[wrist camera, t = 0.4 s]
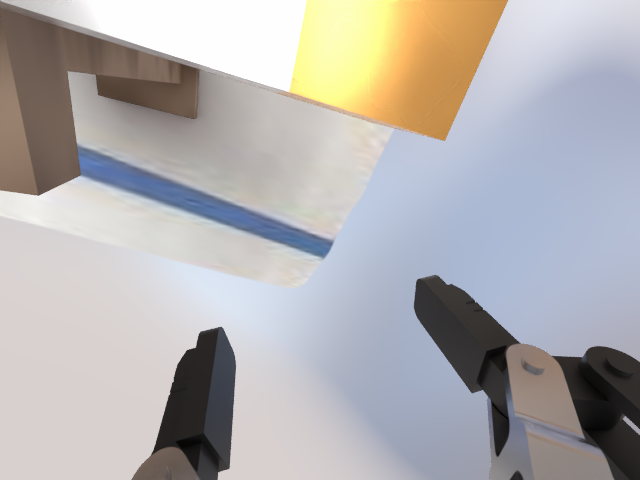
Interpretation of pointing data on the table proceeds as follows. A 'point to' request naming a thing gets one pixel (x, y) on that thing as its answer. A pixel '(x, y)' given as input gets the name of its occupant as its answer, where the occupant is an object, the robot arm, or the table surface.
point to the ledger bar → (309, 47)
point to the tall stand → (54, 95)
